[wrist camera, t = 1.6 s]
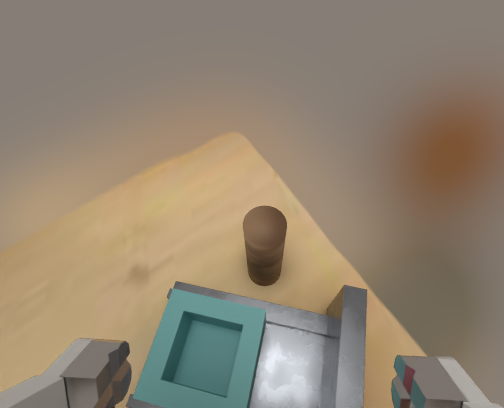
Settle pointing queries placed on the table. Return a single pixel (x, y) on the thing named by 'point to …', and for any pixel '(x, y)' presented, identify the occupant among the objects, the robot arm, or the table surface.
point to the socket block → (203, 354)
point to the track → (304, 352)
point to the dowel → (264, 243)
